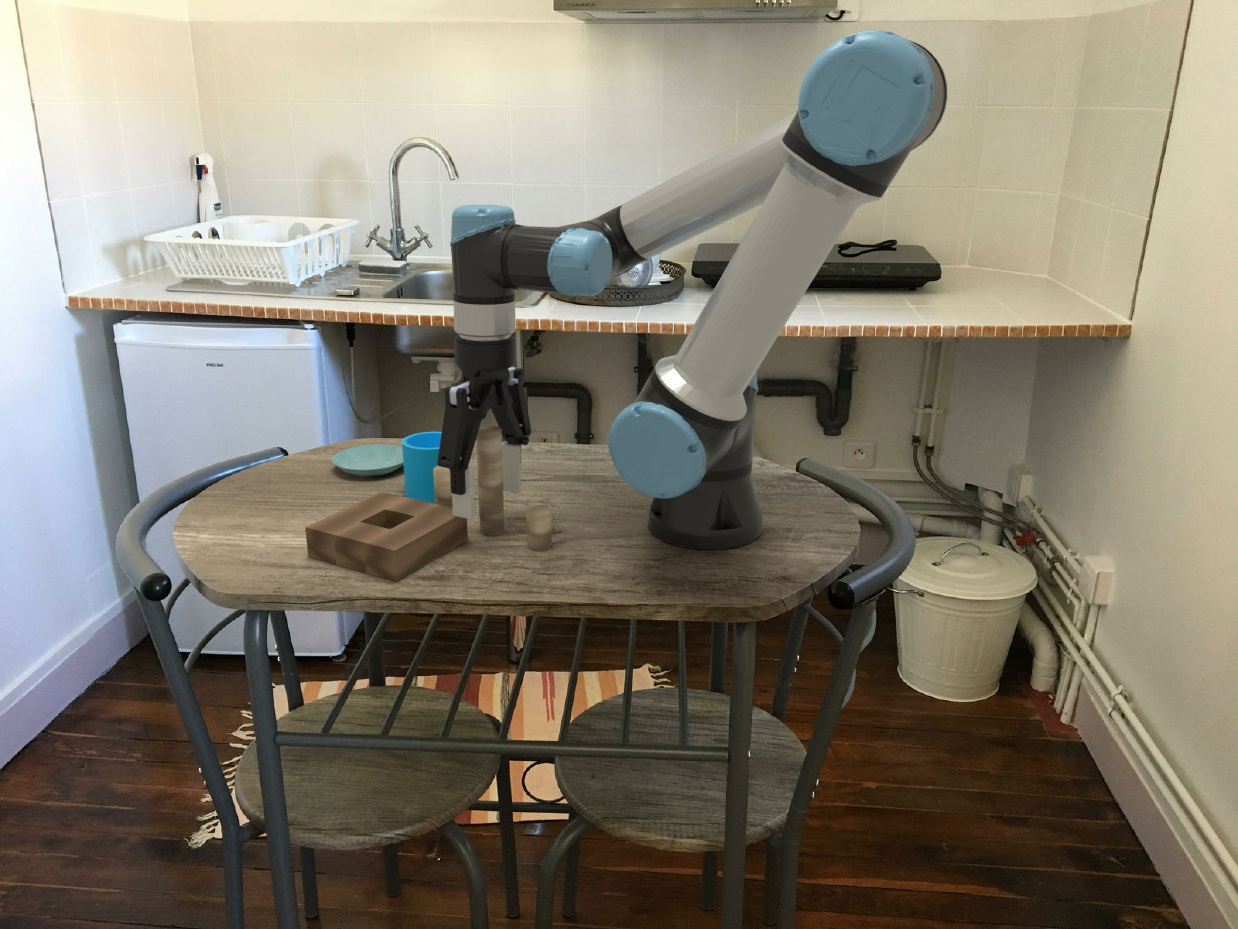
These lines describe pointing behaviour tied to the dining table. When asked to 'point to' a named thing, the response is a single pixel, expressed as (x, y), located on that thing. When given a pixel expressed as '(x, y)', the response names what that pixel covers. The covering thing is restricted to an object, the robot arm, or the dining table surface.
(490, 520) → the dowel long
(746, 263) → the robot arm
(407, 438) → the mug
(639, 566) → the dining table surface
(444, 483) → the dowel mid
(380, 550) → the collar block
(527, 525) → the dowel short
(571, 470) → the dining table surface
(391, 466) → the saucer
